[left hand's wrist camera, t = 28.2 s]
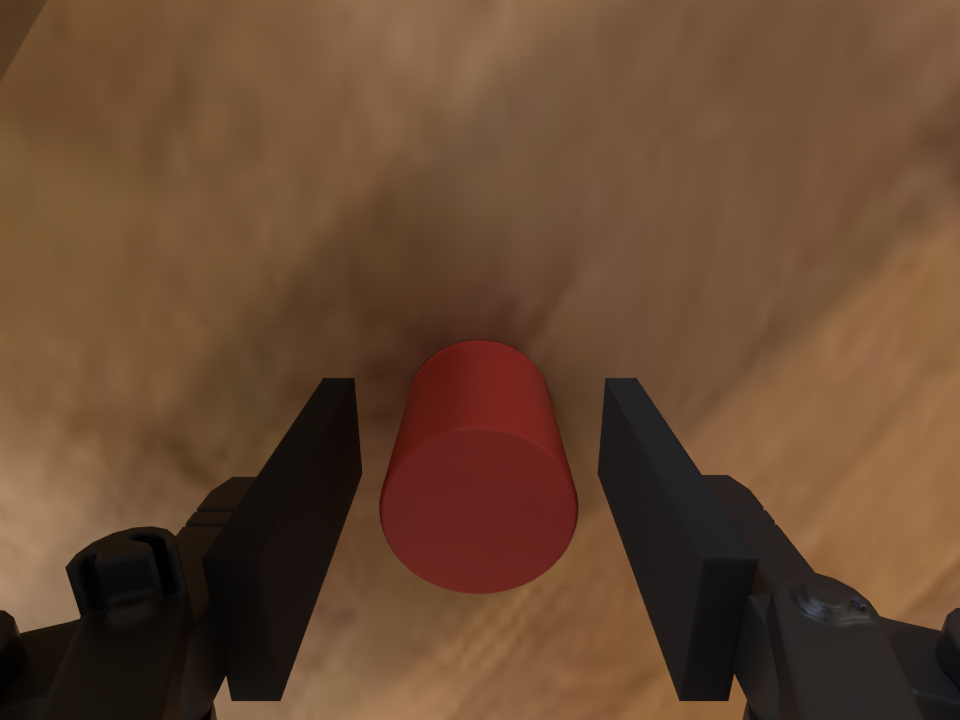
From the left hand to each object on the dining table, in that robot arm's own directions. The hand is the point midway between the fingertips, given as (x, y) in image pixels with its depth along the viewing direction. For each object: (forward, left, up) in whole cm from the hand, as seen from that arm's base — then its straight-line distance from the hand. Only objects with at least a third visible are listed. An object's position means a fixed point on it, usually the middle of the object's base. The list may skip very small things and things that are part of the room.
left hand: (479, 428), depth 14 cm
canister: (0, 0, -1) cm, 1 cm away
